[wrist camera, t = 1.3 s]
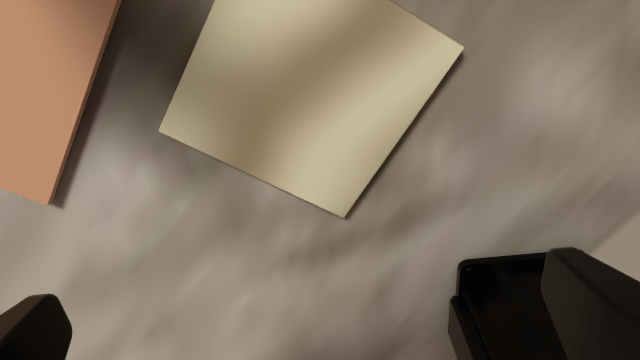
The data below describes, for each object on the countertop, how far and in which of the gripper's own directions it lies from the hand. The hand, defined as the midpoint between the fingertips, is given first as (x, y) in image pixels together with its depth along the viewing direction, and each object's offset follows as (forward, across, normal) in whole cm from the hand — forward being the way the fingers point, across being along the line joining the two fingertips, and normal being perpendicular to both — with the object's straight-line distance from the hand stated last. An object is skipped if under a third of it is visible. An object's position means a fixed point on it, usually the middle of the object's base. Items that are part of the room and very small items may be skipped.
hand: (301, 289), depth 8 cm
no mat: (+12, 0, 0) cm, 12 cm away
